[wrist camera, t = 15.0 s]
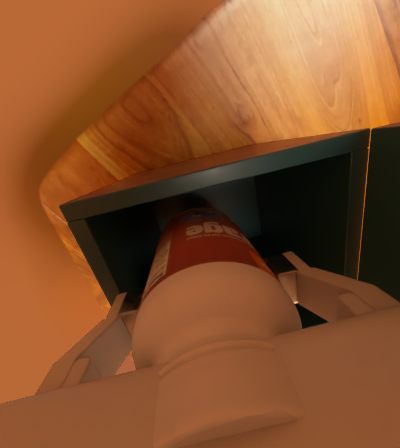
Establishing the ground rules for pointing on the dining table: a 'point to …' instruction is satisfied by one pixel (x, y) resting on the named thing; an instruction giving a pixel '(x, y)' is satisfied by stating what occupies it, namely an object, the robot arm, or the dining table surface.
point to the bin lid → (382, 213)
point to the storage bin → (234, 207)
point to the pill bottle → (213, 333)
